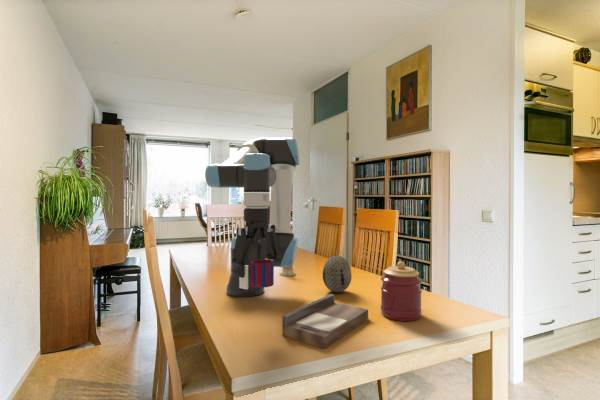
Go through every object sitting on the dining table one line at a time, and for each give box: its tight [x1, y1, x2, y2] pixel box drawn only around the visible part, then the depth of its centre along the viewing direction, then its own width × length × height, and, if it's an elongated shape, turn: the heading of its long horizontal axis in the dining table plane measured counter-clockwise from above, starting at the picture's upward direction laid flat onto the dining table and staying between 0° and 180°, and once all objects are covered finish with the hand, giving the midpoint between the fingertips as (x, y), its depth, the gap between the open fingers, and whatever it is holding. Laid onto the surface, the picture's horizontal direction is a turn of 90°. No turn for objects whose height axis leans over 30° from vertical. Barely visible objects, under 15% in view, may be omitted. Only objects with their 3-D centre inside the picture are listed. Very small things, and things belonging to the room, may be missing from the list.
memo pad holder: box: [281, 293, 369, 349], centre depth 101 cm, size 14×26×6 cm, turn 144°
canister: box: [380, 260, 423, 322], centre depth 111 cm, size 13×13×18 cm
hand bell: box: [279, 265, 297, 277], centre depth 168 cm, size 8×8×16 cm
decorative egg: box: [322, 254, 352, 293], centre depth 137 cm, size 12×12×15 cm
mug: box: [248, 259, 275, 289], centre depth 98 cm, size 7×10×7 cm
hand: (256, 284), depth 98 cm, fingers closed on mug, 10 cm apart
